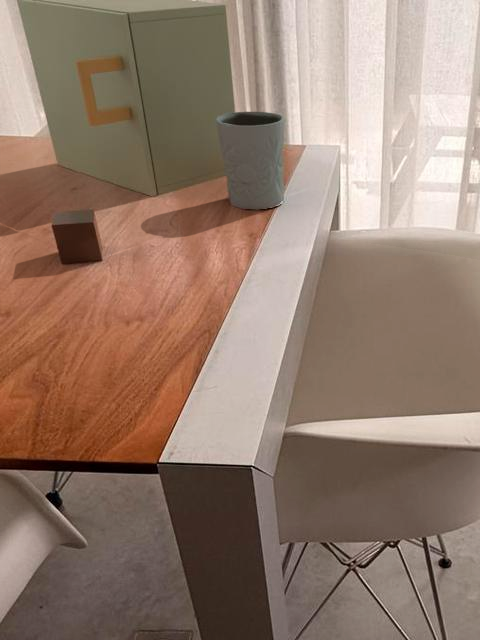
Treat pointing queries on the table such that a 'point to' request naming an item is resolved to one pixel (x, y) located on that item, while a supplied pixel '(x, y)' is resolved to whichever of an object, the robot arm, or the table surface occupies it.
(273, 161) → the grey green cup
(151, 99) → the cupboard
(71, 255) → the walnut block
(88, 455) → the table surface
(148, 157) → the cupboard door
